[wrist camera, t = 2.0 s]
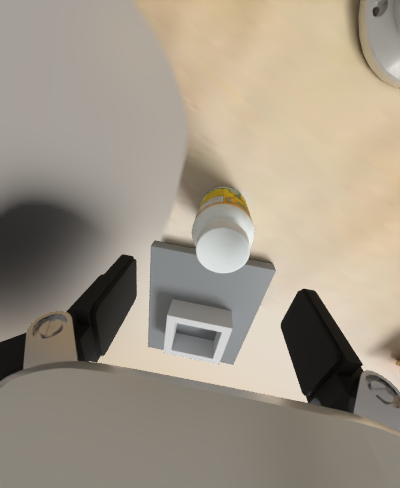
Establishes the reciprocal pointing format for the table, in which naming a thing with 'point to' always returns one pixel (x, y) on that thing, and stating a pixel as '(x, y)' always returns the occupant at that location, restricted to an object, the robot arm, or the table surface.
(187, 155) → the table surface
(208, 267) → the supplement bottle
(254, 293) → the socket holder
